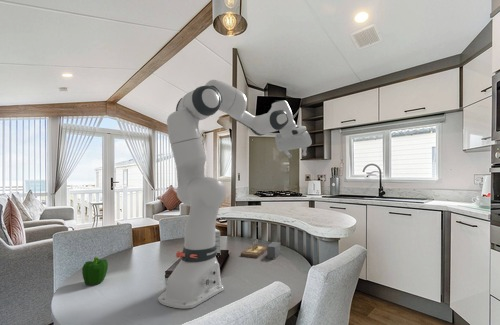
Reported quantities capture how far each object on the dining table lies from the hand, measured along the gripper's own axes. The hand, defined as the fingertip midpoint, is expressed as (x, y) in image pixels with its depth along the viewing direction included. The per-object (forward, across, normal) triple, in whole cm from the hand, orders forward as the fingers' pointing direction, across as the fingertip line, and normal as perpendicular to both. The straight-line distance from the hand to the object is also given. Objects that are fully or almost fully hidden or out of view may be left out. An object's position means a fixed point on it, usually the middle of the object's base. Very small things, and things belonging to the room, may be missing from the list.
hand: (297, 156), depth 125 cm
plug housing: (+39, -8, -32) cm, 51 cm away
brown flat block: (+38, -19, -34) cm, 55 cm away
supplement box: (+30, -31, -51) cm, 67 cm away
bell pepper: (+8, -34, -97) cm, 103 cm away
